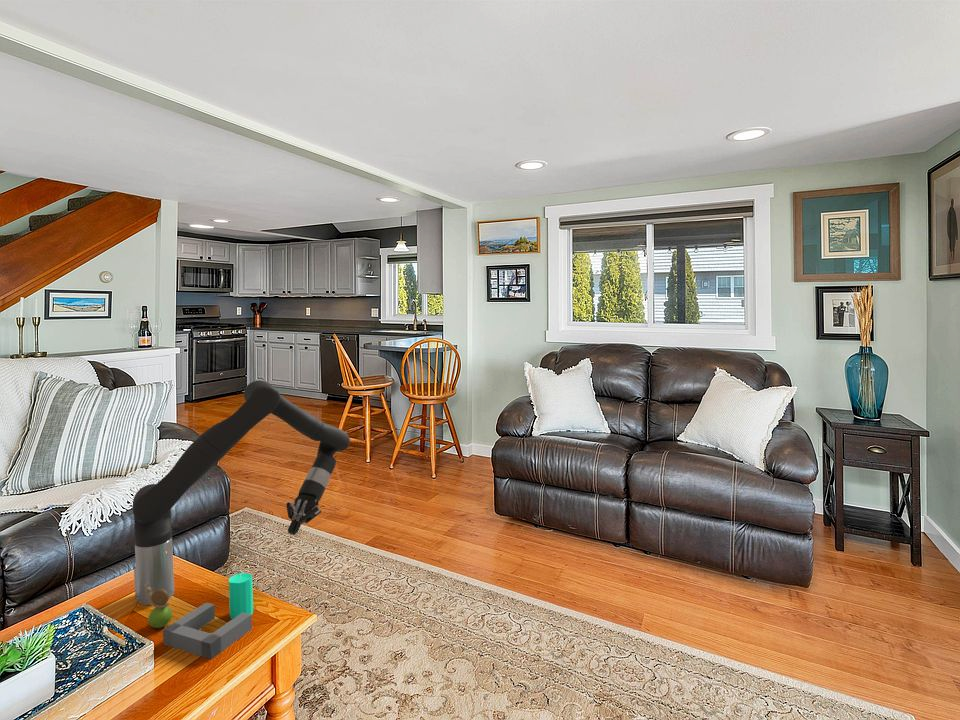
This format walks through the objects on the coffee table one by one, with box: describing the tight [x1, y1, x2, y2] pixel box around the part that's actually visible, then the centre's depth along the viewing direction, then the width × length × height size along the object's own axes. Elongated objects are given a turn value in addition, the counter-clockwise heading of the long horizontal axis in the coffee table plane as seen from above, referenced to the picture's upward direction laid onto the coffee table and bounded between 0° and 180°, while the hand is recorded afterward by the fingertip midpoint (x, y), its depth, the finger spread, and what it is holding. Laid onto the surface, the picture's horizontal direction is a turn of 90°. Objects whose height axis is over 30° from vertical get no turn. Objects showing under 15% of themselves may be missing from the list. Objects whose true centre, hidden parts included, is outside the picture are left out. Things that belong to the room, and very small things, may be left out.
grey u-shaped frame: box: [162, 602, 253, 660], centre depth 133 cm, size 16×13×4 cm
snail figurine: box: [144, 582, 173, 629], centre depth 137 cm, size 5×6×12 cm
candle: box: [228, 572, 254, 620], centre depth 143 cm, size 6×6×12 cm
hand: (291, 533), depth 162 cm, fingers closed
